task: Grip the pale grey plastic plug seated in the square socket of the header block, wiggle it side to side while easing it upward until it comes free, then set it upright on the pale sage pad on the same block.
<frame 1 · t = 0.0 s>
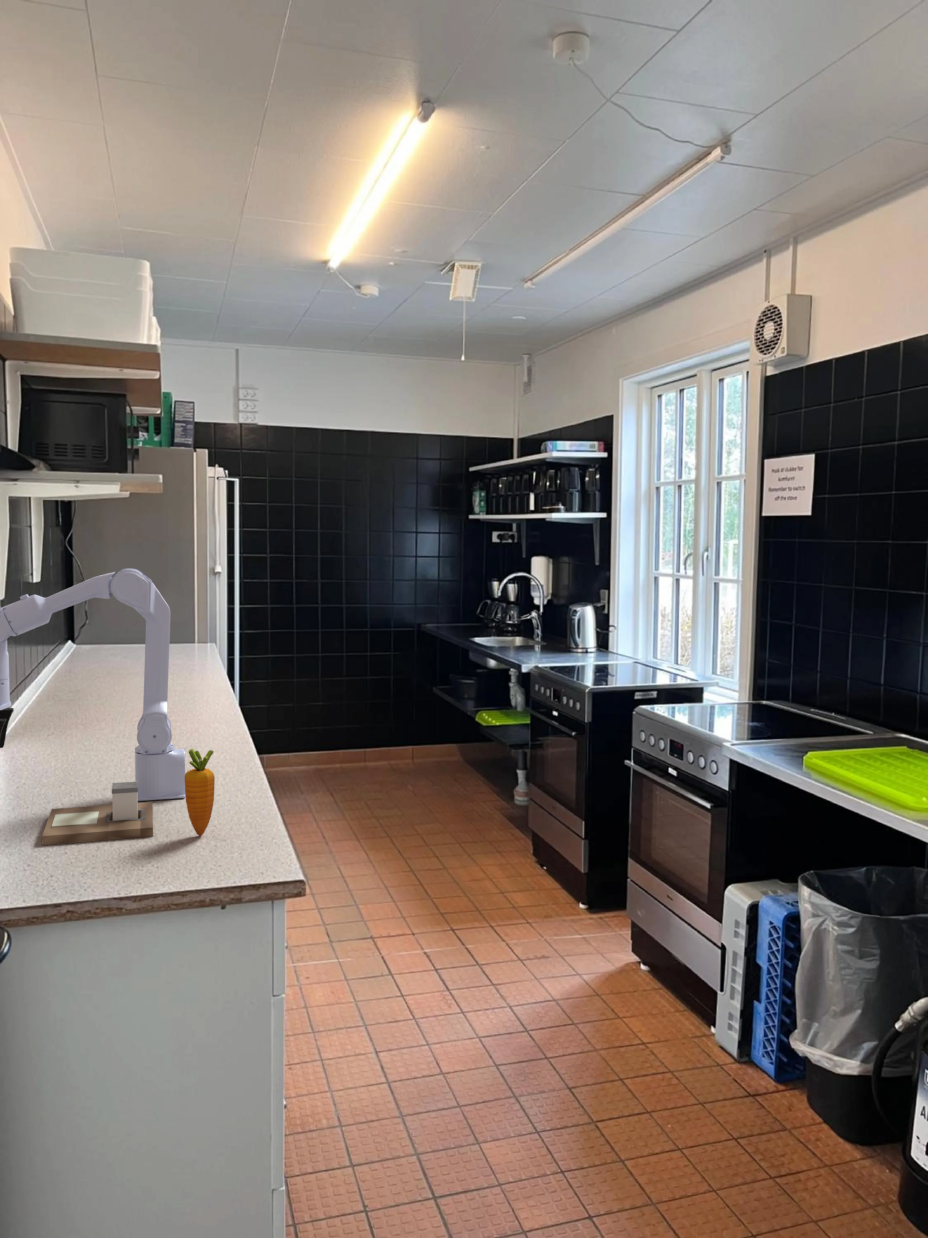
plug: (125, 824, 163), resting in header block
carrot: (200, 837, 157), on the countertop
header block: (101, 826, 162), on the countertop
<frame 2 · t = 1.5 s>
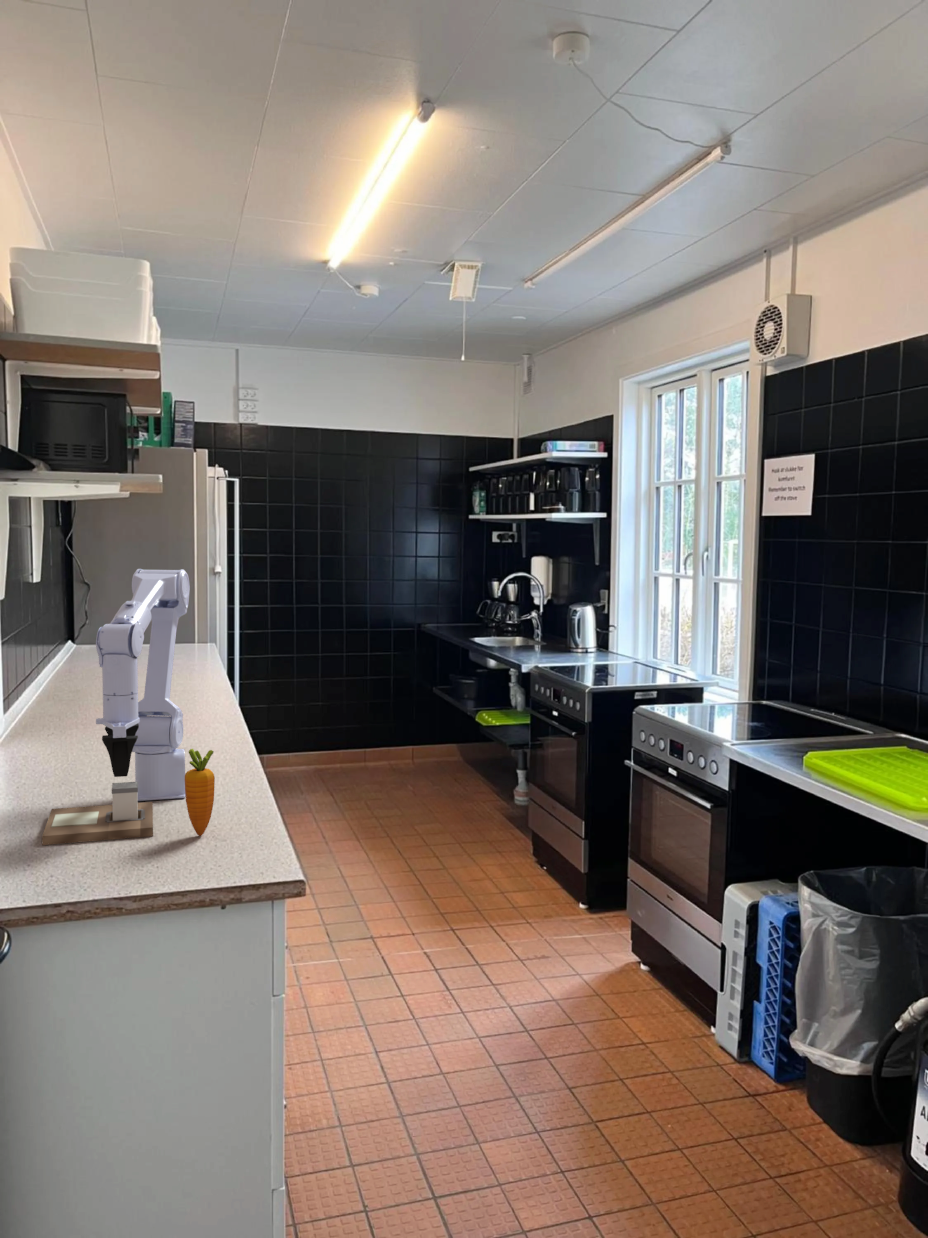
hand: (121, 771, 162), 9 cm above the countertop, fingers open, 7 cm apart
nothing on the countertop moved.
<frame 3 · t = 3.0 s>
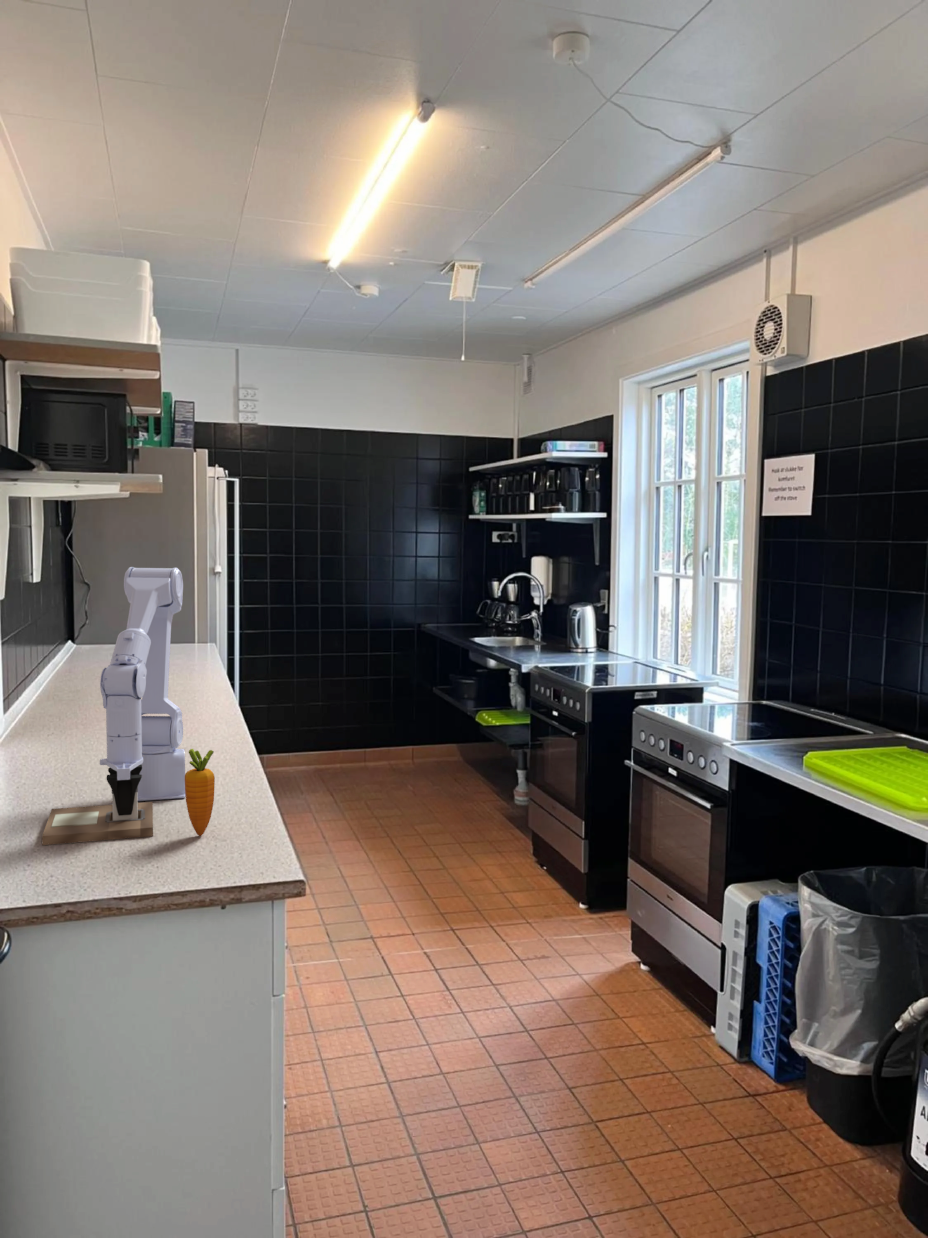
hand: (125, 811, 163), 2 cm above the countertop, fingers closed on plug, 4 cm apart
plug: (125, 824, 163), resting in header block, touching gripper
everything else where it was.
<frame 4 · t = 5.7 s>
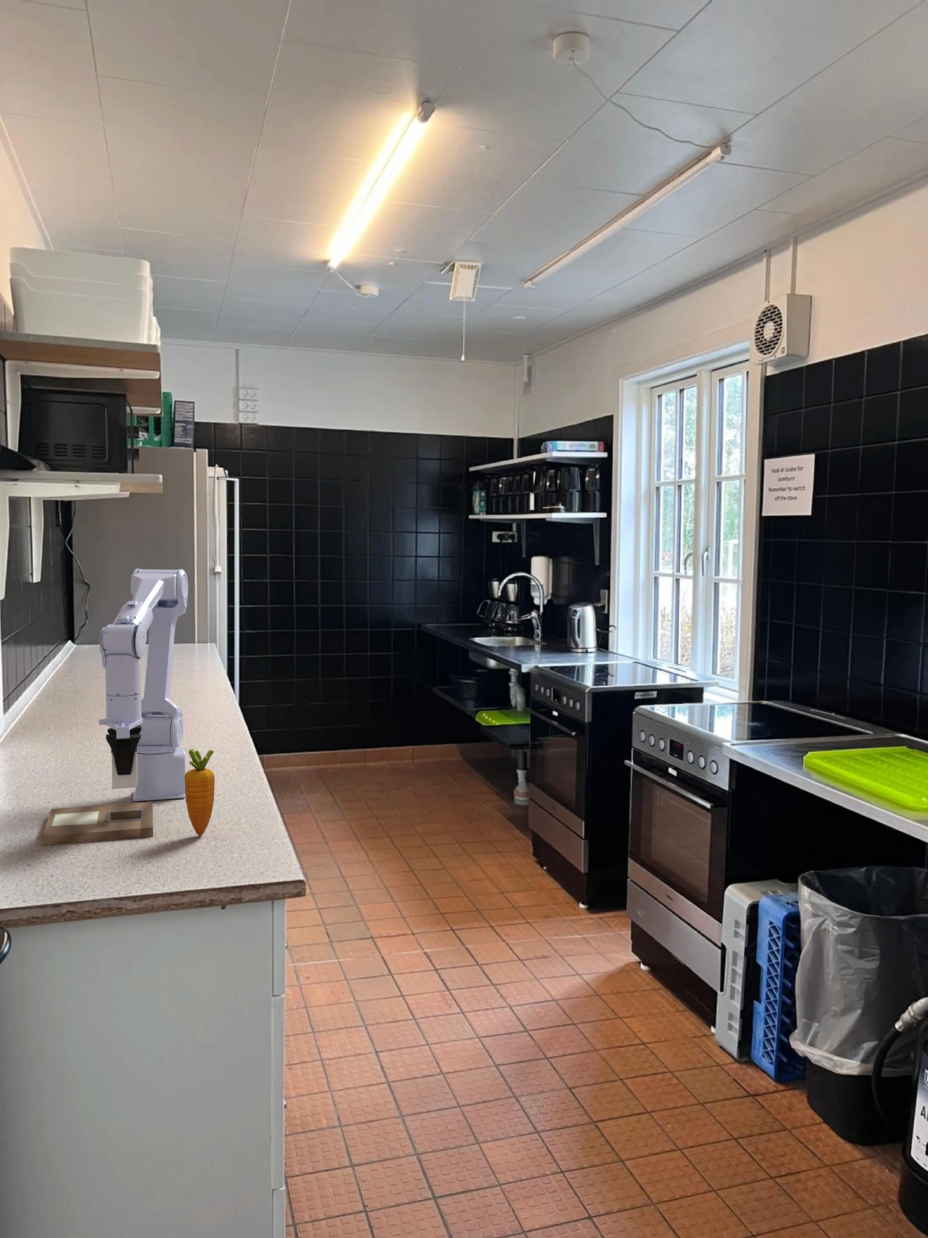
hand: (124, 771, 162), 9 cm above the countertop, fingers closed on plug, 4 cm apart
plug: (125, 785, 163), point 7 cm above the countertop, touching gripper
everything else where it was.
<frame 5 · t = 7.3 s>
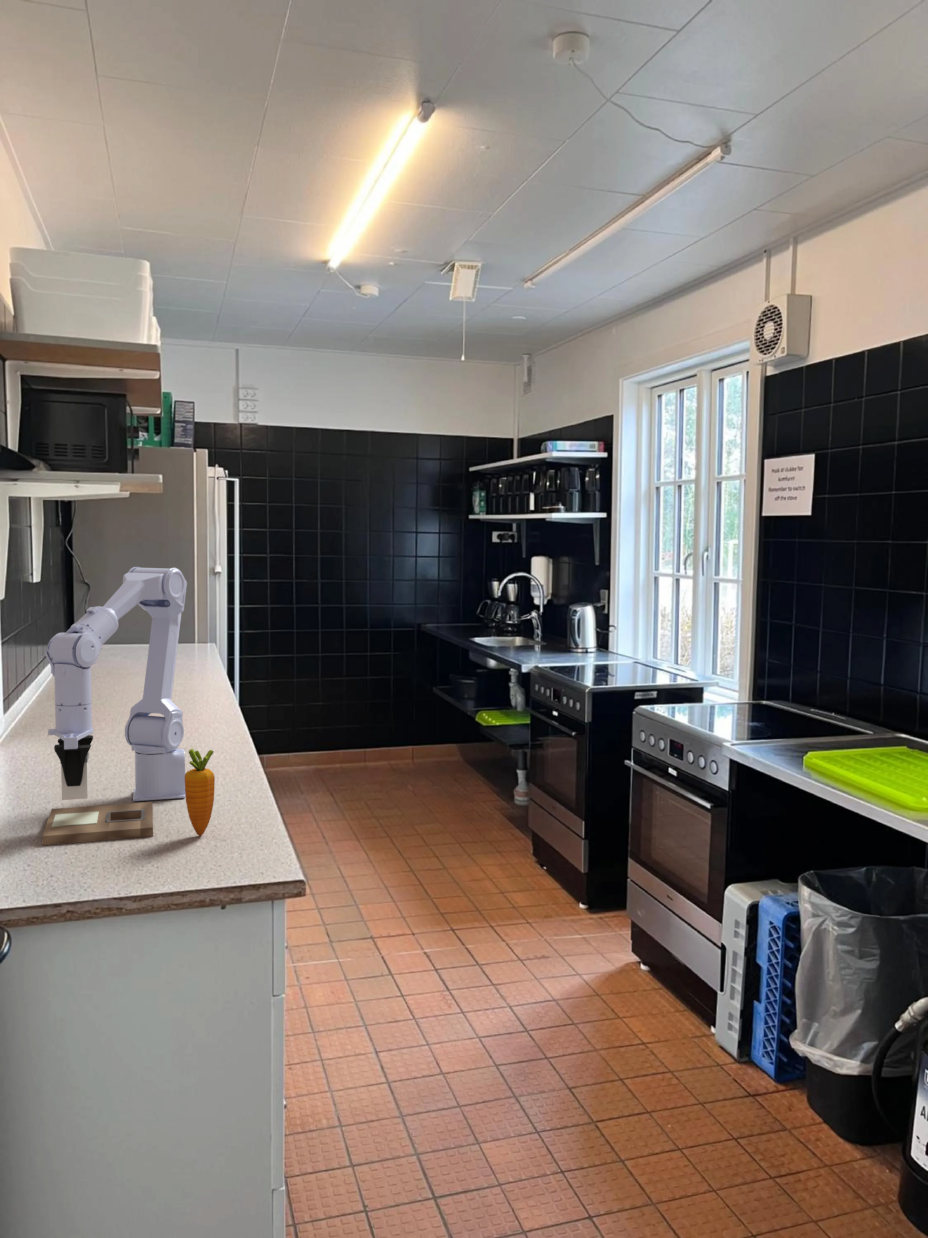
hand: (74, 782, 160), 8 cm above the countertop, fingers closed on plug, 4 cm apart
plug: (75, 796, 160), point 6 cm above the countertop, touching gripper
everything else where it was.
when the fingers open (5 cm above the countertop, at t = 8.6 s): plug stays where it is, resting on header block.
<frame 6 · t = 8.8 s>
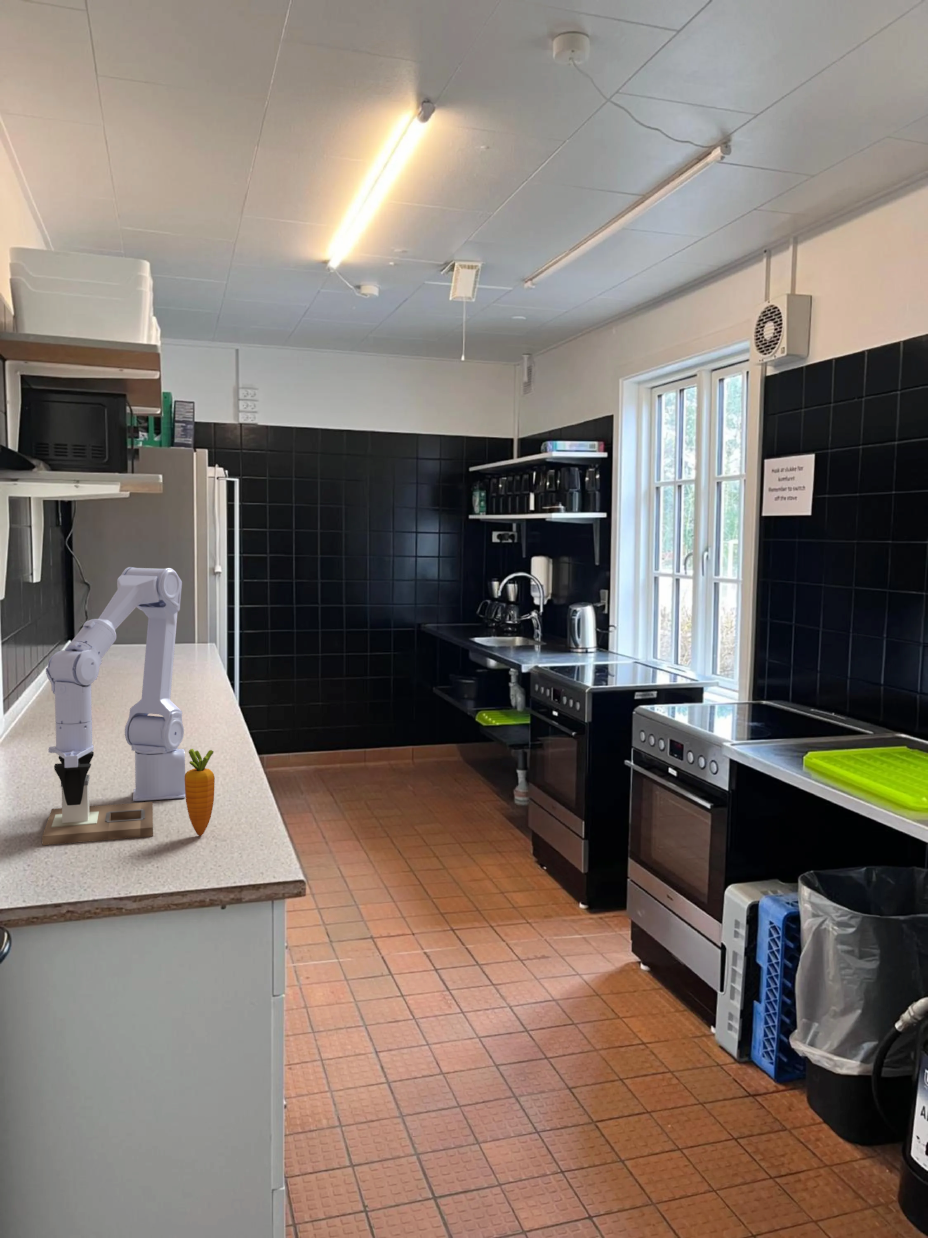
hand: (75, 799, 160), 5 cm above the countertop, fingers open, 6 cm apart
plug: (76, 818, 160), point 2 cm above the countertop, touching header block
everything else where it was.
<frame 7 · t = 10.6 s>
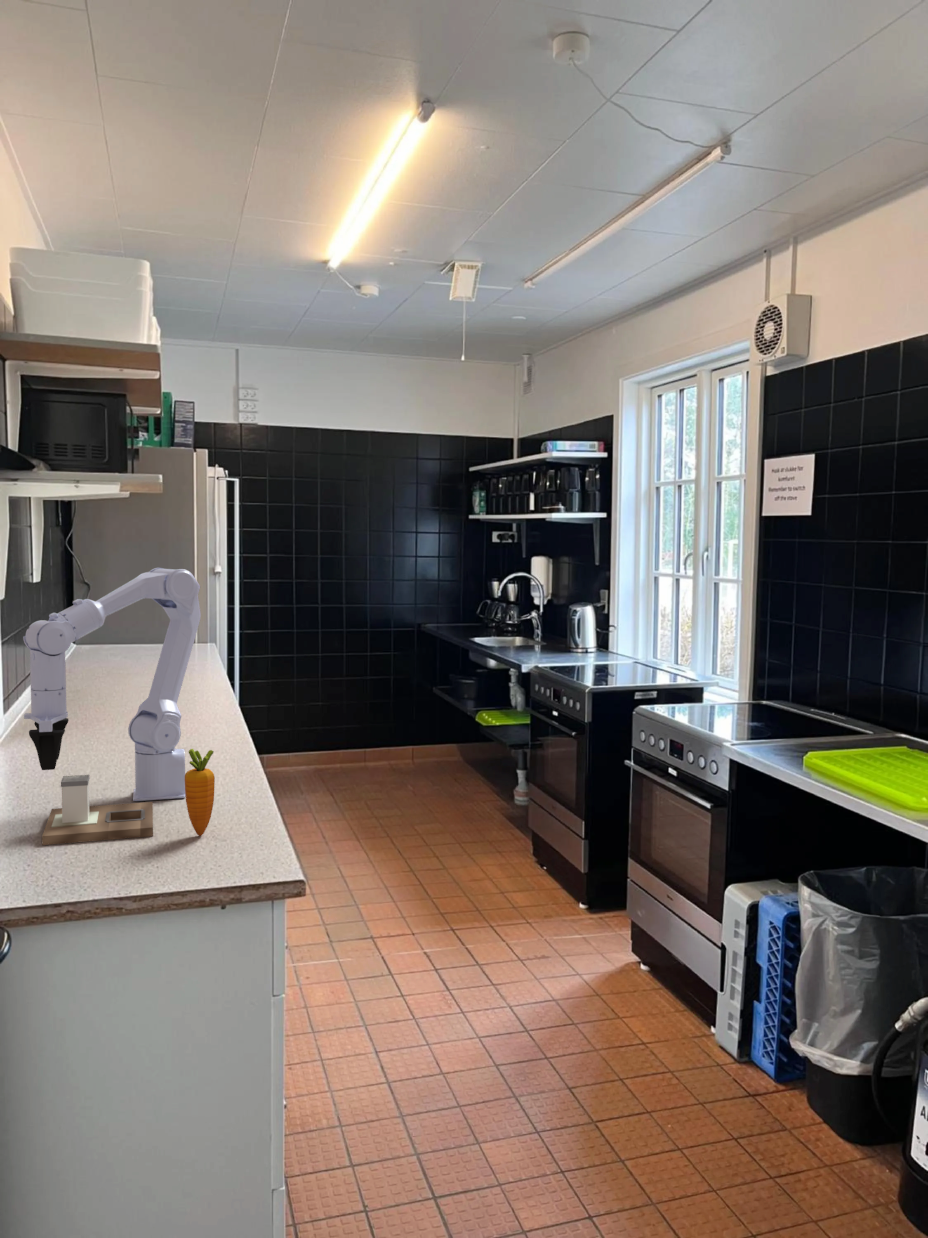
hand: (50, 764, 166), 9 cm above the countertop, fingers open, 7 cm apart
nothing on the countertop moved.
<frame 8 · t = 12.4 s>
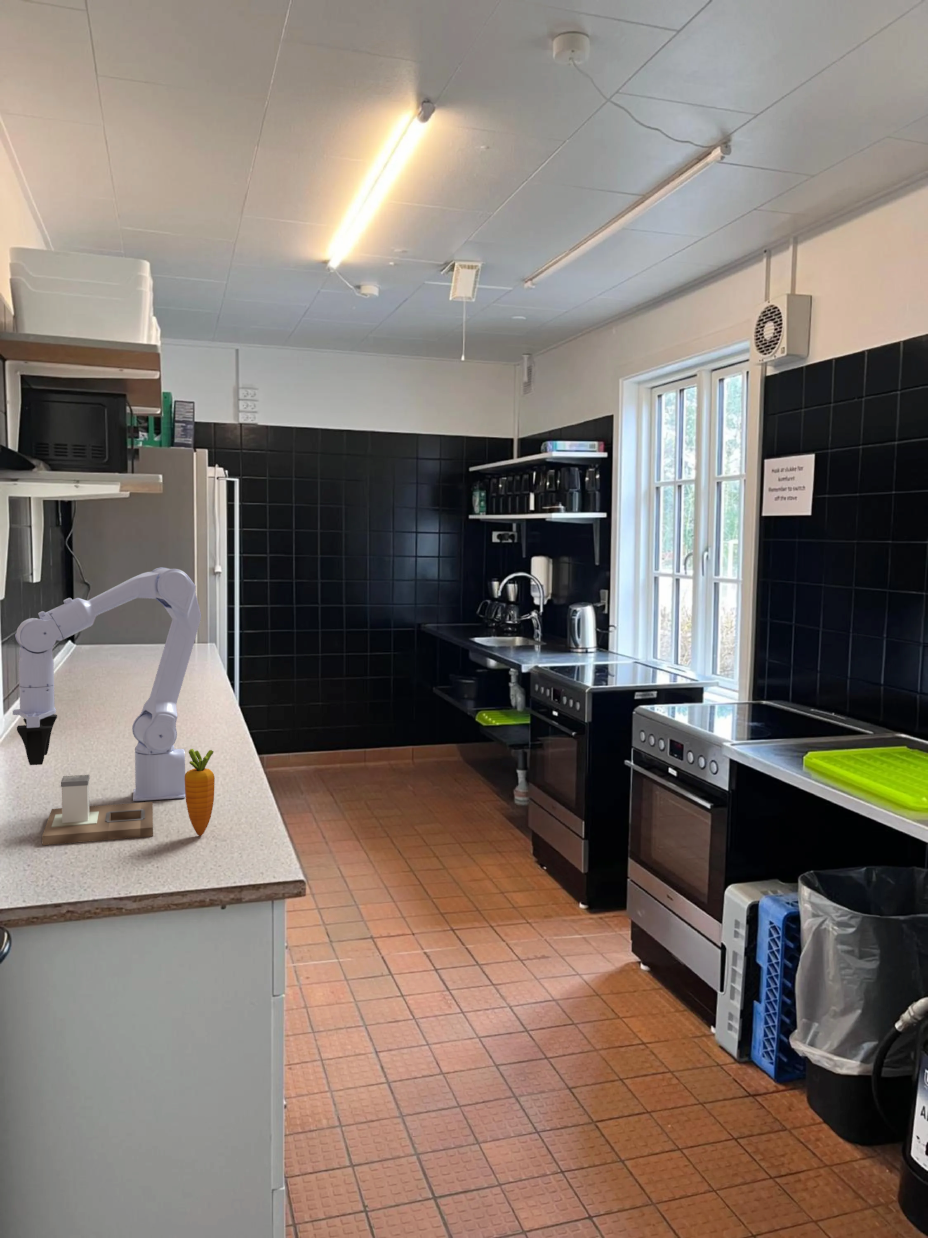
hand: (38, 759, 170), 9 cm above the countertop, fingers open, 7 cm apart
nothing on the countertop moved.
at the end: plug 0.1 cm from the target spot on the header block, point 1.7 cm above the header block's base; plug tilted 0°; the gripper is holding nothing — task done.
